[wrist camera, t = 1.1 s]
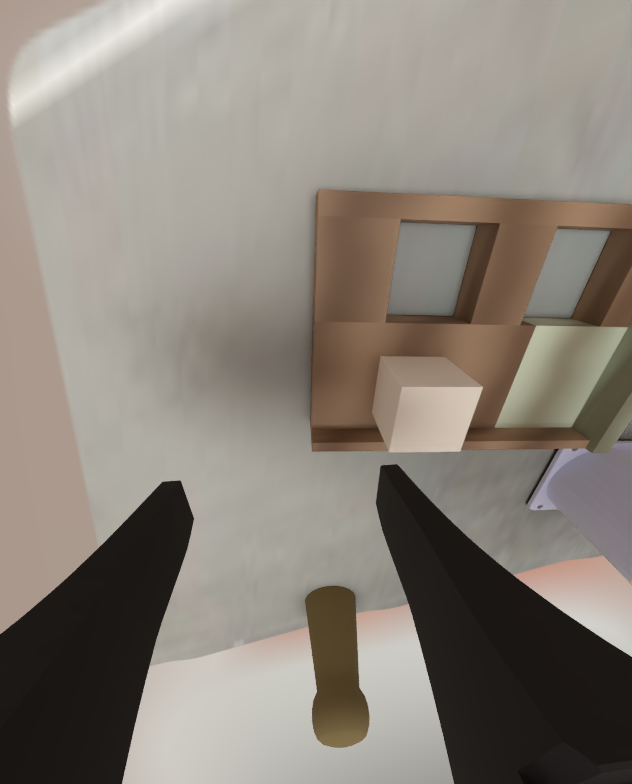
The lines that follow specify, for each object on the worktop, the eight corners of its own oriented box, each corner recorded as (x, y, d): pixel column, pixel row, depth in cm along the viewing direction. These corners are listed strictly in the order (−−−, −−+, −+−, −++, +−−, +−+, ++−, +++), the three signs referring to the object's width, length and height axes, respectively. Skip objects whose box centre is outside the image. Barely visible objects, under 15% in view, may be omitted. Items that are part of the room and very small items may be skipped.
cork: (300, 590, 32) (301, 739, 23) (352, 582, 32) (376, 730, 22) (309, 615, 35) (314, 757, 25) (357, 608, 35) (379, 749, 25)
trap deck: (671, 212, 16) (778, 204, 12) (559, 419, 22) (608, 453, 19) (316, 195, 14) (321, 181, 11) (310, 420, 21) (312, 456, 18)
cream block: (444, 356, 17) (483, 387, 13) (430, 412, 19) (460, 451, 15) (380, 356, 17) (402, 386, 13) (371, 412, 19) (388, 452, 15)
